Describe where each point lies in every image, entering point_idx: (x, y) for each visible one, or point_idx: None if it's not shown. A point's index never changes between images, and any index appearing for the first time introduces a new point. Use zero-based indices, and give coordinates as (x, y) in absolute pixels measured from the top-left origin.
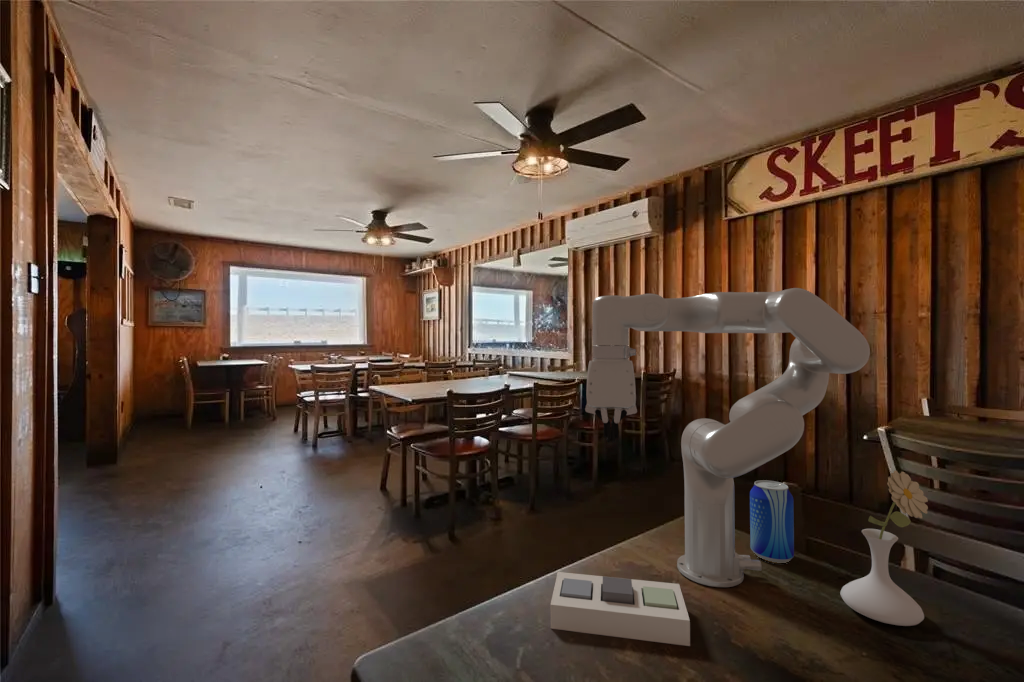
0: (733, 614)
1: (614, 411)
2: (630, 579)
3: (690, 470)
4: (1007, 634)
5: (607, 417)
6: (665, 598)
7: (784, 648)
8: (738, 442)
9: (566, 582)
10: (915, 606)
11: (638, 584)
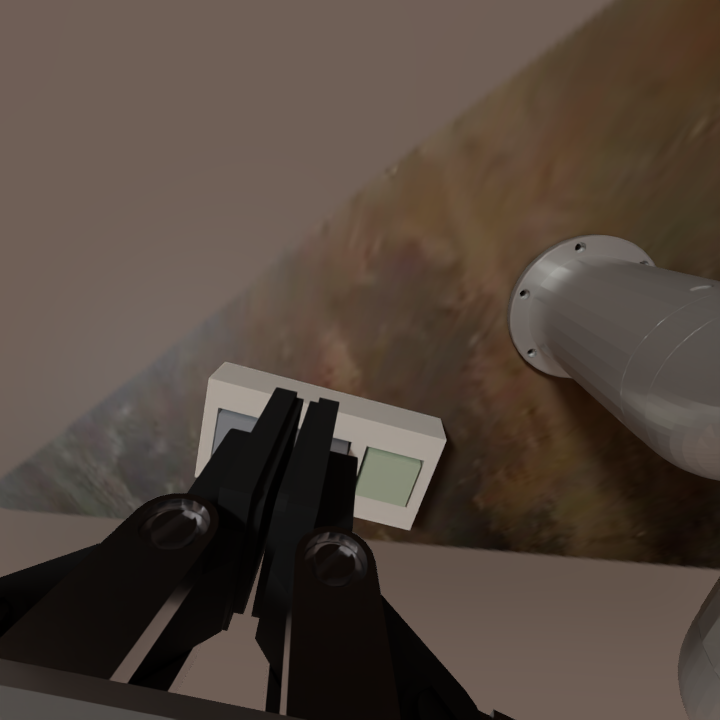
0: (521, 445)
1: (286, 670)
2: (345, 453)
3: (714, 445)
4: None
5: (173, 688)
6: (394, 488)
7: (538, 517)
8: None
9: (222, 429)
10: None
11: (365, 435)
